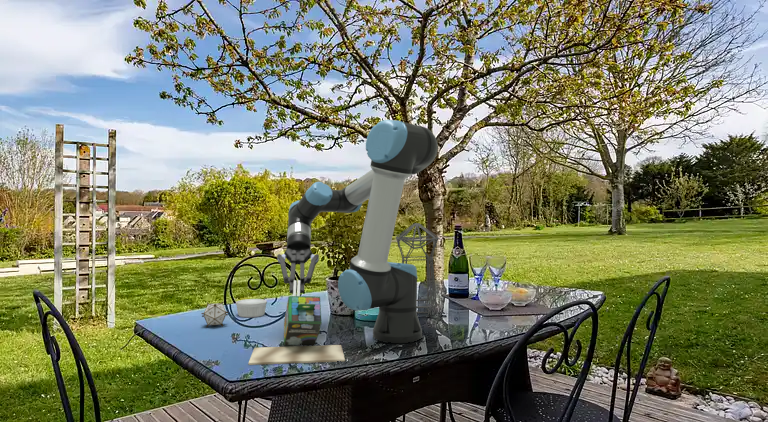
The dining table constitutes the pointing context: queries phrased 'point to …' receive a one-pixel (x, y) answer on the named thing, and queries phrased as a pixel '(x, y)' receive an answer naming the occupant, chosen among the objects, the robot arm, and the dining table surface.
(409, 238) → the geometric lantern
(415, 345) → the dining table surface
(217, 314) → the game die
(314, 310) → the chalk box
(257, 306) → the ramekin
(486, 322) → the dining table surface
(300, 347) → the beige mat
